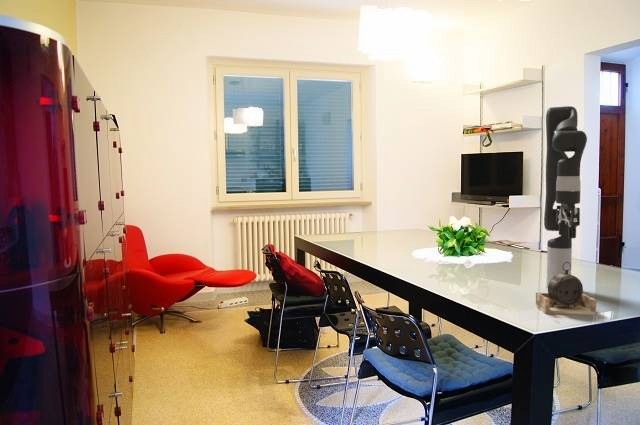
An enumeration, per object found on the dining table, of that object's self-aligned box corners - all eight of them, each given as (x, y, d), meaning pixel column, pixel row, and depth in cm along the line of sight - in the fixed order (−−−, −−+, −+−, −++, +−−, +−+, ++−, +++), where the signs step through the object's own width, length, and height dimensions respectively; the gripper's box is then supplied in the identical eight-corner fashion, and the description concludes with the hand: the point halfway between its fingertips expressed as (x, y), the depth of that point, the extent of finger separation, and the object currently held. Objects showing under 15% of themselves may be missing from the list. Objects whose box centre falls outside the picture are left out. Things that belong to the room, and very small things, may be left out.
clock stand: (535, 306, 182) (535, 292, 182) (583, 307, 181) (583, 293, 180) (545, 313, 172) (545, 299, 172) (595, 314, 171) (596, 300, 171)
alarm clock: (575, 305, 179) (576, 260, 178) (585, 309, 174) (586, 262, 173) (546, 306, 178) (547, 261, 177) (555, 310, 173) (556, 263, 172)
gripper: (549, 189, 181) (548, 234, 182) (564, 190, 166) (563, 239, 168) (571, 189, 180) (570, 234, 181) (588, 190, 166) (587, 239, 167)
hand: (567, 236), depth 174 cm, fingers open, 8 cm apart
